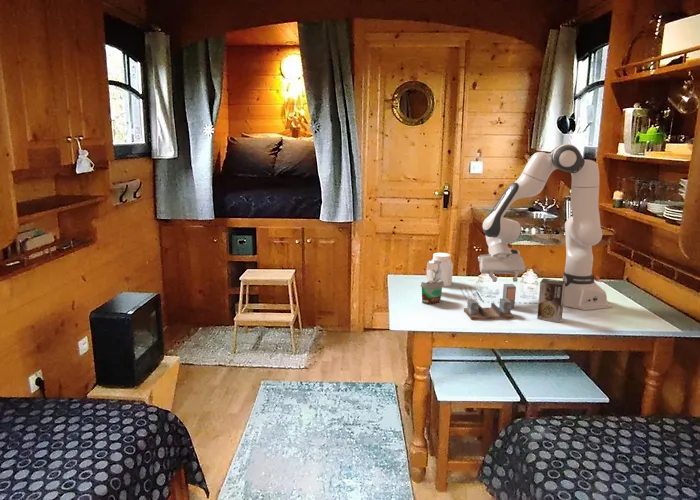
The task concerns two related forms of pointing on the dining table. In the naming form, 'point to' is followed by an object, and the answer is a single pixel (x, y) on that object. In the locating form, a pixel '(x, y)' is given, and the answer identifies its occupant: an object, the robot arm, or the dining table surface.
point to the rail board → (489, 310)
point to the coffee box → (551, 300)
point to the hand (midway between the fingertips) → (505, 281)
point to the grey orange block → (509, 293)
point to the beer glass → (434, 270)
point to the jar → (445, 267)
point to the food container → (432, 291)
